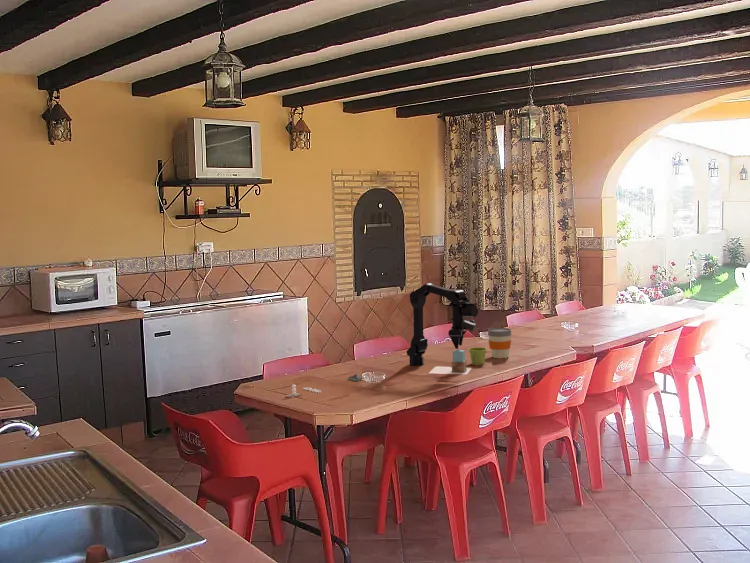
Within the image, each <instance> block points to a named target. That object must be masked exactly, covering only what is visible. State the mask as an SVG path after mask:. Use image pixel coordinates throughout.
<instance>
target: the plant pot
mask: <svg viewBox="0 0 750 563" xmlns="http://www.w3.org/2000/svg"><path fill="white" fill-rule="evenodd" d="M467 350H468V352H469V354H470V361H471V364H472V365H475V366H482V365H485V360H486V353H487V351H488V348H487V347H480V346H479V347H478V346H477V347H469V348H468V349H467Z"/></svg>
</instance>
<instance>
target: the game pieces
mask: <svg viewBox="0 0 750 563" xmlns="http://www.w3.org/2000/svg"><path fill="white" fill-rule="evenodd" d="M362 377H363V376H362V375H359V374H358V373H355V374H354V375H352V376H348V377H346V379H347V380H350V381H354V382H361V380H362ZM362 381H363V380H362ZM302 389H303V390H305V391H310V392H313V393H317V392H318V394H320V393H322V390H321V389H317V388H313V387H311V386H310V387H303V388H302ZM291 391H292V392H291V393H290V394H287V395H285V396H284V397H285V398H287V397H288V399H292V397H294V398H297V396H298V397H301V396H300V395H302V396H303V394H301V393H297V385H296V384H292V385H291ZM319 392H320V393H319Z"/></svg>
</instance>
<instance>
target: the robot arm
mask: <svg viewBox="0 0 750 563" xmlns="http://www.w3.org/2000/svg"><path fill="white" fill-rule="evenodd" d="M430 294H434V295H437V296H440V297H443V298H445V299H446V300H448V301H450V303H449V304H447V305H448V307H451V319H450V320H451V328H450V329H449V330H448V333H447V335H448V336H449V338H450V341H451V342H452V345H453V346H454V348H455V350H459V346H462V345H463V340H464V335H465V334H466V333H468V330H469V331H470V332H474V330H475V328H476V325H477V324H476V323H475V320H474V319H470V321H469V320H466V317H468V318H476V317H477V316H478V314H479V308H478V306H477V305H476V303H475V302H470V300H469V299H468V297H467V296H466V294H465V291H464V290H463V289H458V288H457V289H453V288H451V289H450V288H447V287H443V286H440V285H437V284H433V283H431V282H429V283H424V284H423V285H422V286H421V287H419V288H417V289H416V290H414V291H413V290H412V291H411V292H410V293H409V301H410V305H411V306H412V310H413V312H412V313H413V314H412V315H413V317H412V318H413V335H412V338H411V340H410V346H409V348H408V349H407V350H406V356H408V357H409V366H412V367H413V366H415V367H418V366H419V367H420V366H424V365H425V362H424V360H425V359H424V356H423V355H424V354H425V353H426V350H427V347H429V344H428V338H426V337H425V336H424V306H425V304H426V301H427V297H428V296H430Z"/></svg>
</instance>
